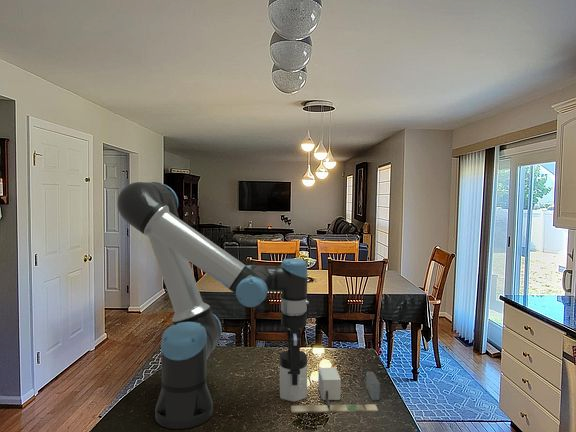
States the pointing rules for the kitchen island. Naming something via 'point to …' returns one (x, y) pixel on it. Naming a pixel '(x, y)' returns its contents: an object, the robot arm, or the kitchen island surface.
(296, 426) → the kitchen island surface
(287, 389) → the jar
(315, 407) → the strip
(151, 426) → the kitchen island surface
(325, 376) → the carriage
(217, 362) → the kitchen island surface
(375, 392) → the two-tone gray brick
